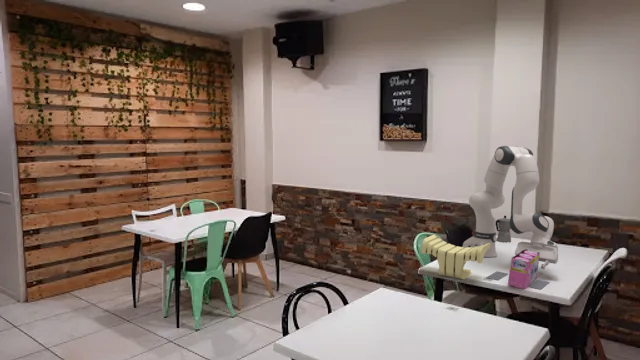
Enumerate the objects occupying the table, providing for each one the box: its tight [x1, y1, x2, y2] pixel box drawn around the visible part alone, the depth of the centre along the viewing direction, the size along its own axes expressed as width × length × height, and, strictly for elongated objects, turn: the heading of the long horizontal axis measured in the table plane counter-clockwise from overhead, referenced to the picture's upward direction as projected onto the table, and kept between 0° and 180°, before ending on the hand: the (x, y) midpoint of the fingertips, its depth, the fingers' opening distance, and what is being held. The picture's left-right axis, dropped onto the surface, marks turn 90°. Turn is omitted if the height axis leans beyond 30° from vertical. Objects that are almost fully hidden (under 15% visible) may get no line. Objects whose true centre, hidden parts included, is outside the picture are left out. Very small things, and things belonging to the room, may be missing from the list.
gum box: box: [507, 249, 540, 290], centre depth 219 cm, size 24×8×14 cm, turn 141°
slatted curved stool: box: [421, 234, 490, 280], centre depth 230 cm, size 30×16×18 cm, turn 54°
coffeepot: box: [495, 215, 512, 243], centre depth 309 cm, size 15×9×18 cm, turn 116°
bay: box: [485, 270, 551, 290], centre depth 223 cm, size 26×15×1 cm, turn 48°
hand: (532, 266), depth 227 cm, fingers open, 8 cm apart
